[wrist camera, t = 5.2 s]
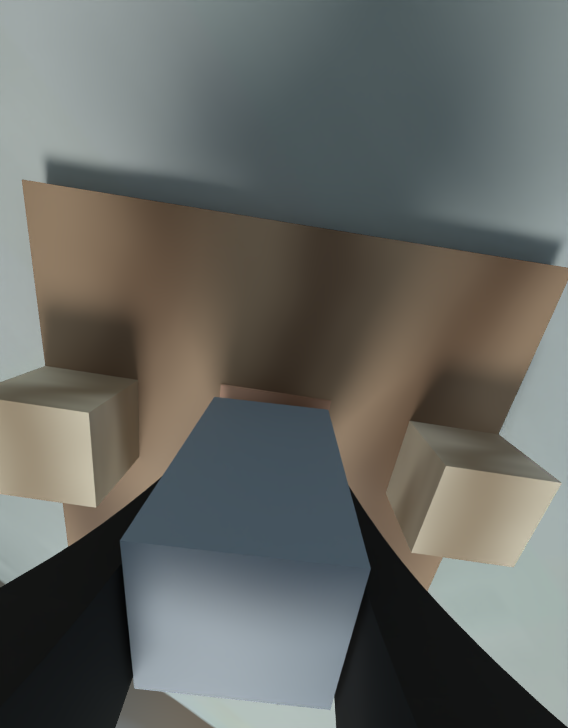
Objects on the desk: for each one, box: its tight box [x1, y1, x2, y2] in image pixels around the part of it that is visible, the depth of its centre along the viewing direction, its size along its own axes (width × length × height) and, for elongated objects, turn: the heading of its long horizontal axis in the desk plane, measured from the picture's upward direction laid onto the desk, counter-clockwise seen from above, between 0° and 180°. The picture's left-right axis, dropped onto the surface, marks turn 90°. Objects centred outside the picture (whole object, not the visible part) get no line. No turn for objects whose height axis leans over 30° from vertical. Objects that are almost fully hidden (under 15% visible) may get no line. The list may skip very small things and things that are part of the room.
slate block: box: [120, 397, 371, 710], centre depth 8 cm, size 4×4×6 cm
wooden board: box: [0, 180, 568, 591], centre depth 12 cm, size 20×18×4 cm
